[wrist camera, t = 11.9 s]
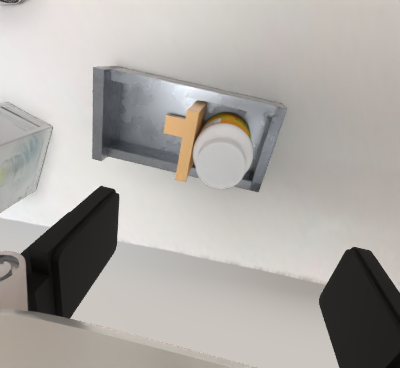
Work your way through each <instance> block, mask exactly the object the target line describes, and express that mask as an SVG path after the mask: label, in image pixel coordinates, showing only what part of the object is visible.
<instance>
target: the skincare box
mask: <svg viewBox="0 0 400 368" xmlns="http://www.w3.org/2000/svg"><path fill="white" fill-rule="evenodd" d="M51 132H52V126H50V125H48V124H47V123H45V122H43V121H41V120H39V119H37V118H35V117H33V116H31V115H30V114H28V113H26V112H24V111H22V110H20V109H19V108H17V107H15V106H13V105H12V104H10V103H2V104H0V213H1V212H2V211H4V210H6V209H7V208H9V207H10V206H12V205H13V204H15V203H16V202H18V201H19V200H21V199H22V198H24V197H26V196H27V195H29V194H30V193H32V192H33V191H35V190H36V188H37V184H38V180H39V176H40V173H41V169H42V165H43V162H44V158H45V154H46V150H47V146H48V143H49V139H50V136H51Z"/></svg>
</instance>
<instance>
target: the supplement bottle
mask: <svg viewBox="0 0 400 368" xmlns="http://www.w3.org/2000/svg"><path fill="white" fill-rule="evenodd" d="M252 160H253V146H252V140H251V134H250V129H249V126H248V124H247V122H246V121H245V120H244V119H243V118H242V117H241V116H240V115H238V114H236V113H233V112H220V113H217V114H215V115H213V116H211V117H210V118H209V119H208V120H207V121H206V123H205V124H204V126H203V128H202V129H201V131H200V133H199V135H198V137H197V139H196V141H195V143H194V146H193V161H194V164H195V166H196V172H197V174H198V176H199V178H200V180H201V181H202V182H203V183H204V184H206V185H207V186H209V187H211V188H214V189H228V188H231V187H233V186H235V185H236V184H238V183H239V182H240V181H241V179H242V178H243V176H244V174H245V173H246V172H247V171H248V169H249V168H250V166H251V163H252Z"/></svg>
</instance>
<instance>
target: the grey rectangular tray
mask: <svg viewBox="0 0 400 368" xmlns="http://www.w3.org/2000/svg"><path fill="white" fill-rule="evenodd" d="M197 100H200V101H205V102H208V104H207V108H206V113H205V118H204V123H203V126H204V124H205V123H206V121H207V120H208V119H209V118H210V117H211V116H213V115H215V114H217V113H220V112H233V113H236V114H238V115H240V116H241V117H242V118H243V119H244V120H245V121H246V122H247V124H248V126H249V129H250V134H251V140H252V146H253V160H252V163H251V166H250V168H249V169H248V171H247V172H246V173H245V174H244V176H243V178H242V179H241V181H240V182H239V183H238V184H236V185H235V187H239V188H243V189H247V190H251V191H256V192H259V189H260V186H261V183H262V180H263V178H264V175H265V172H266V169H267V166H268V163H269V160H270V157H271V154H272V151H273V148H274V145H275V142H276V139H277V136H278V134H279V131H280V128H281V125H282V122H283V119H284V116H285V113H286V110H287V108H286V107H285V106H284V105H283V104H282V103H278V102H273V101H269V100H264V99H260V98H255V97H251V96H247V95H242V94H238V93H233V92H229V91H224V90H220V89H215V88H211V87H207V86H202V85H198V84H193V83H189V82H184V81H180V80H176V79H171V78H167V77H162V76H158V75H153V74H149V73H144V72H140V71H136V70H131V69H127V68H122V67H118V66H110V67H93V148H92V159H95V160H99V161H102V160H104V159H105V158H106V157H108V156H109V157H113V158H117V159H121V160H125V161H130V162H134V163H138V164H142V165H146V166H151V167H155V168H159V169H163V170H167V171H172V172H176V171H177V165H178V160H179V154H180V148H181V142H182V137H178V136H174V135H169V134H165V133H164V127H165V120H166V115H167V114H171V115H176V116H180V117H184V118H186V113H187V109H189V108H190V107H191V106H192V105H193V104H194V103H195V102H196V101H197ZM188 176H193V177H197V178H199V176H198V174H197V172H196V166H195V164H193V166H192V169H191V171H190V173H189V175H188Z"/></svg>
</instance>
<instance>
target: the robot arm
mask: <svg viewBox="0 0 400 368" xmlns="http://www.w3.org/2000/svg"><path fill="white" fill-rule="evenodd" d="M118 212H119V194H117V193H116V191H115V189H112V188H107V187H103V186H100V187H99V188H97V189H96V190H95V191H94V192H93V193H92V194H91V195H89V196H88V197H87V198H86V199H85V200H84V201H82V202H81V203H80V204H79V205H78V206H77V207H76V208H74V209H73V210H72V211H71V212H69V213H67V214H66V215H65V216H64V217H62V218H61V219H60V220H59V221H58V222H57V223H56V224H54V225H53V226H52V227H51V228H50V229H49V230H47V231H46V232H45V233H44V234H43V235H42V236H40V238H38V239H37V240H36V241H35V242H34V243H32V244H31V245H30V246H29V247H28V248H27V249H26V250H24V251H23V252H22V253H21V254H19V253H16V252H10V251H2V252H0V368H256V367H252V366H249V365H245V364H241V363H237V362H234V361H230V360H226V359H223V358H219V357H215V356H212V355H208V354H204V353H200V352H196V351H193V350H189V349H186V348H182V347H178V346H174V345H170V344H167V343H163V342H159V341H155V340H151V339H148V338H144V337H140V336H136V335H132V334H129V333H125V332H121V331H117V330H113V329H110V328H105V327H102V326H97V325H93V324H89V323H85V322H81V321H77V320H73V319H70V318H71V316H72V315H73V313H74V312H75V310H76V308H77V307H78V306H79V304H80V303H81V301H82V300H83V298H84V297H85V295H86V294H87V292H88V291H89V289H90V288H91V286H92V284H93V283H94V282H95V280H96V279H97V277H98V276H99V274H100V273H101V271H102V270H103V268H104V267H105V265H106V264H107V263H108V261H109V260H110V258H111V257H112V255H113V253H114V251H115V250H116V246H117V232H118ZM319 305H320V308H321V311H322V314H323V317H324V321H325V323H326V327H327V330H328V333H329V336H330V340H331V343H332V346H333V349H334V352H335V355H336V358H337V362H338V365H339V367H340V368H400V293H399V291H398V290H397V288H396V287H395V285H394V284H393V282H392V281H391V279H390V278H389V277H388V275H387V274H386V272H385V271H384V269H383V268H382V266H381V265H380V263H379V262H378V260H377V259H376V258H375V256H374V255H373V253H372V252H371V251H369V250H365V249H361V248H357V247H353V248H351V249H348V250H346V251H345V253H344V255H343V256H342V258H341V260H340V262H339V264H338V265H337V267H336V269H335V271H334V272H333V274H332V276H331V278H330V279H329V281H328V283H327V285H326V286H325V288H324V290H323V292H322V294H321V295H320V298H319Z"/></svg>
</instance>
